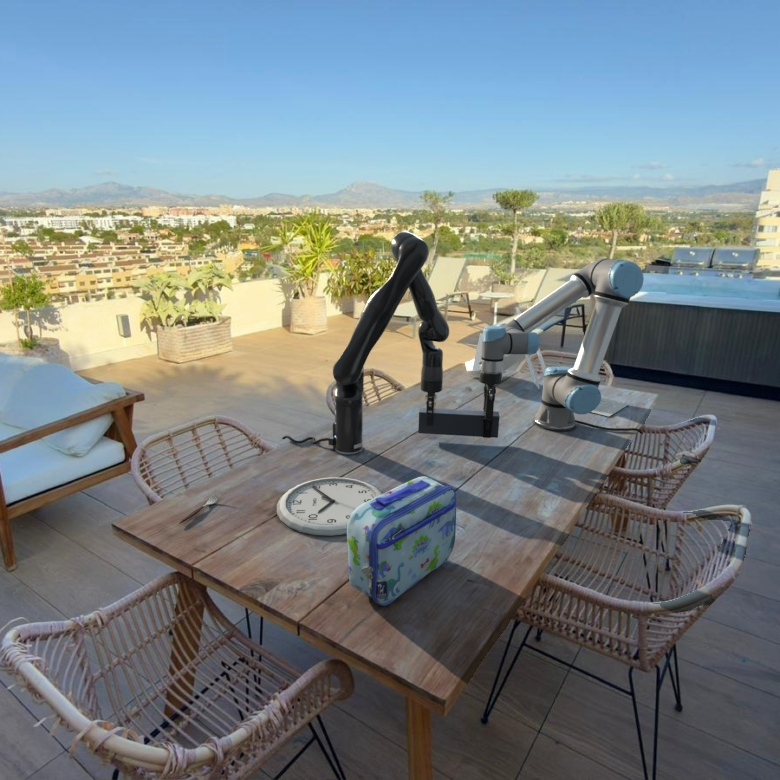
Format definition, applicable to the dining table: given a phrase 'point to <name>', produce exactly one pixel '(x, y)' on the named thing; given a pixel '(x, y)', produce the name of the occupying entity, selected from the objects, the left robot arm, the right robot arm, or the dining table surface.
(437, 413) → the beam
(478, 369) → the white plastic object
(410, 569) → the lunch box
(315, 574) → the dining table surface
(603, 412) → the invitation card
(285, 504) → the wall clock
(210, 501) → the fork
